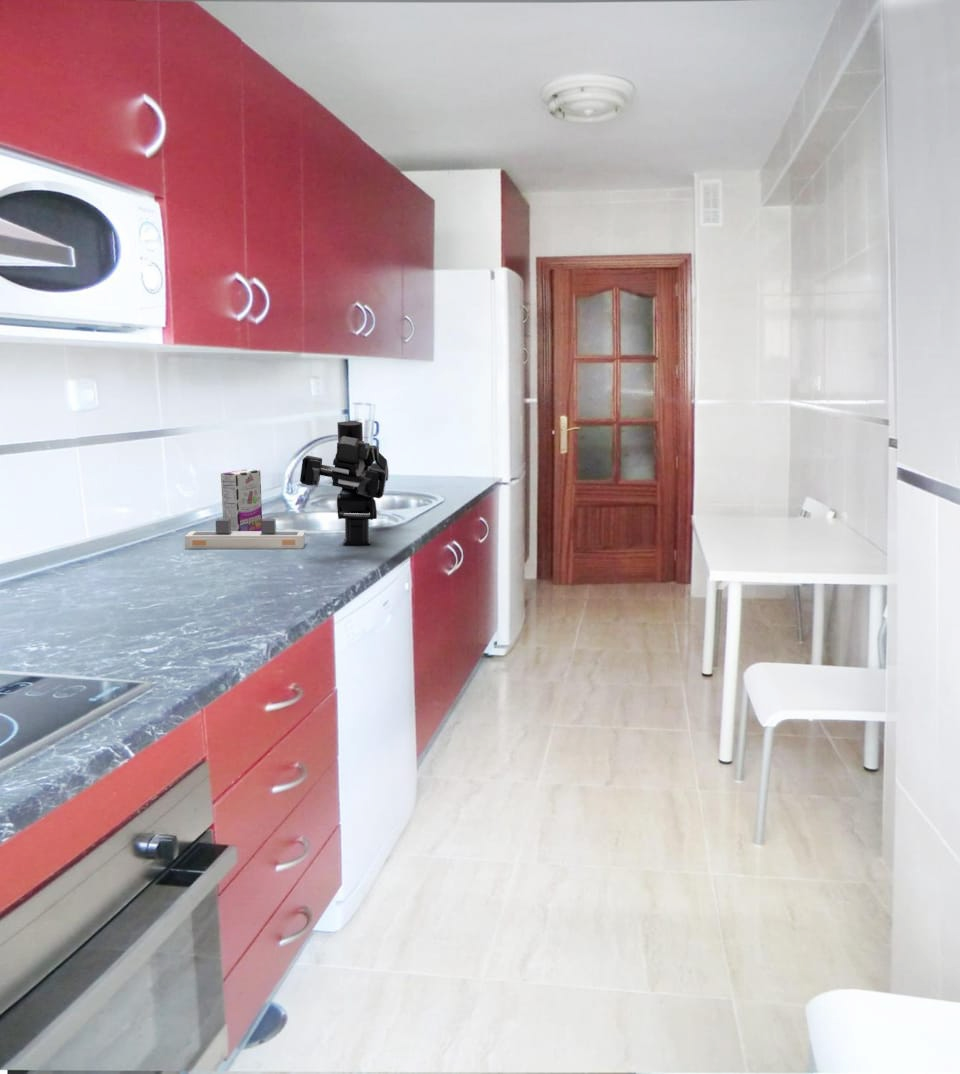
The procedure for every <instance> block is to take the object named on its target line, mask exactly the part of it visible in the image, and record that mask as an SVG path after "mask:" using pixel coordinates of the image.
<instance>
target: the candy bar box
mask: <svg viewBox="0 0 960 1074" xmlns="http://www.w3.org/2000/svg"><path fill="white" fill-rule="evenodd" d="M220 482H221V501H222V502H221V503H222V504H221V505H222V519H231V531H261V521H262V519H263V509H262V488H261V487H262V484H261V469H254V468H253V469H251V468H250V469H249V468H245V469H239V470H233V471H228V472H223V473H220Z"/></svg>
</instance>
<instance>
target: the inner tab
mask: <svg viewBox="0 0 960 1074" xmlns="http://www.w3.org/2000/svg"><path fill="white" fill-rule="evenodd" d="M276 522H277V520H276V518H262V521H261V531H262V533H275V532H276V531H277V525H276V524H277V523H276Z"/></svg>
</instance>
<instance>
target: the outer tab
mask: <svg viewBox="0 0 960 1074" xmlns="http://www.w3.org/2000/svg"><path fill="white" fill-rule="evenodd" d="M215 531H216V533H230V532H231V519H223V518H217V519H216V520H215Z"/></svg>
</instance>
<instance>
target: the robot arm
mask: <svg viewBox="0 0 960 1074" xmlns="http://www.w3.org/2000/svg"><path fill="white" fill-rule="evenodd" d="M374 462H375V463H374ZM388 464H389V463H388V460H387V459H386V457H385V456H383V455H382V454H381V453H380V449H379V446H377V445H372V444H370V443H369V442H368V443H367V442H365V441H364V435H363V422H360V421H358V420H346V421H338V422H337V443H336V453H335V457H334V459H333V461H332V465H333V466H331V465H327V464H326V465H325V464H323V457H318V456H312V455H305V457H303V458H302V463H301V469H300V478H299V481H300V483H301V485H306V486H310V487H314V488H315V487H316V488H318V487H319V483H320V479H321V476H322V477H328V478H331V479H332V483H331V484H332V485H331V486H332V487H338V488H341V489H340V491H339V493H338V494H337V497H336V510H337V518H338V519H337V520H342V519H344V529H345V530H344V534H345V535H344V538H343V541H342V545H345V546H350V545H351V546H353V545H354V546H360V545H361V546H364V545H365V546H366V545H367V546H370V545H371V538H369V537H370V536H369V535H370V532H369V530H370V529H369V527H370V525H369V524H370V522H369V521H370V520H371V521H372V520H377V518H378V511H377V503H376V500H375V498H376V499H381V498H383V496H384V493H385V488H386V482H387V481H389V466H388Z"/></svg>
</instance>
